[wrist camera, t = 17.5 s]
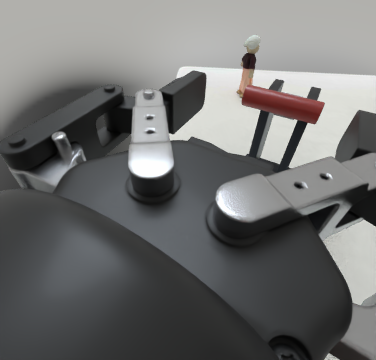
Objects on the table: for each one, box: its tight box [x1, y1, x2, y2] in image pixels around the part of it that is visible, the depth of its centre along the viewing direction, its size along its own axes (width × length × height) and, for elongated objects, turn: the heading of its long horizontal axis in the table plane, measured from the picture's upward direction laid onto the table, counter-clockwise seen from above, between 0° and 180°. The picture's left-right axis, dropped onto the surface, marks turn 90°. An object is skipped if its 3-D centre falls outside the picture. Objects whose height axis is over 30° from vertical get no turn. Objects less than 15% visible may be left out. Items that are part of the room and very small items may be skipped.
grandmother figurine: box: [237, 35, 260, 98], centre depth 54 cm, size 8×4×13 cm, turn 17°
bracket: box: [246, 79, 321, 173], centre depth 30 cm, size 10×8×15 cm
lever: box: [242, 85, 325, 124], centre depth 22 cm, size 12×6×2 cm, turn 151°
